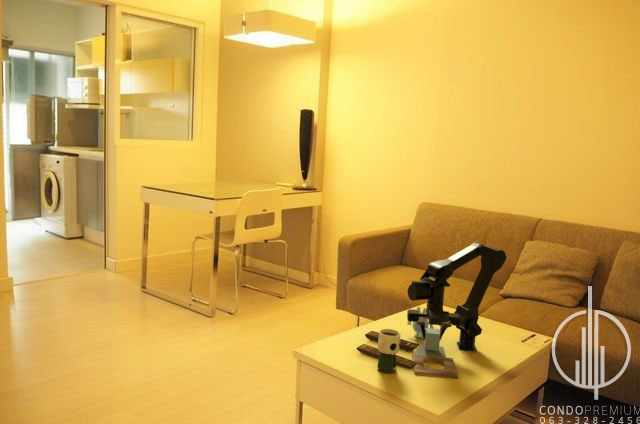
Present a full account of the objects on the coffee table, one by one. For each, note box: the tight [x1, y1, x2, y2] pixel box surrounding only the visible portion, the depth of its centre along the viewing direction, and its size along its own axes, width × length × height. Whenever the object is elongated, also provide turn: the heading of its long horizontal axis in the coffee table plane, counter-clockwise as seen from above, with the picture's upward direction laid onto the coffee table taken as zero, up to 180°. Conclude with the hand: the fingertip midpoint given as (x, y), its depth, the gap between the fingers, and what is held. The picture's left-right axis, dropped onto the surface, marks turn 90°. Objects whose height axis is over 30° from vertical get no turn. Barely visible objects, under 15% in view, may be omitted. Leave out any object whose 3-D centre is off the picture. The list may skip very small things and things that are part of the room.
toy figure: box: [406, 306, 435, 339], centre depth 209 cm, size 11×6×12 cm, turn 63°
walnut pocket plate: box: [411, 353, 459, 379], centre depth 183 cm, size 14×14×1 cm
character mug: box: [376, 328, 401, 373], centre depth 178 cm, size 11×7×13 cm, turn 139°
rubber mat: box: [415, 344, 447, 357], centre depth 196 cm, size 10×10×1 cm
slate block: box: [423, 327, 441, 350], centre depth 195 cm, size 5×5×6 cm
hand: (431, 340), depth 195 cm, fingers closed on slate block, 5 cm apart
